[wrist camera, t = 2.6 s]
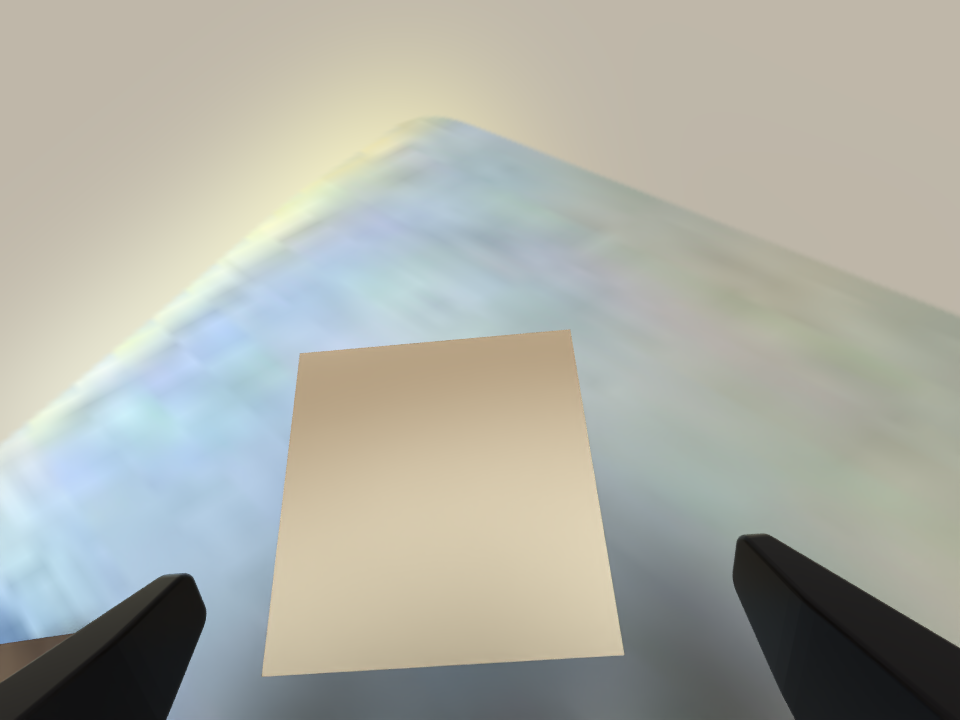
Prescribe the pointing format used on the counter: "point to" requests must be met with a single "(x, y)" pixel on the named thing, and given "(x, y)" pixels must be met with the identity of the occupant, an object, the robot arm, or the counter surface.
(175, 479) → the counter surface
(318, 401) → the birch post
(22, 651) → the walnut plinth
